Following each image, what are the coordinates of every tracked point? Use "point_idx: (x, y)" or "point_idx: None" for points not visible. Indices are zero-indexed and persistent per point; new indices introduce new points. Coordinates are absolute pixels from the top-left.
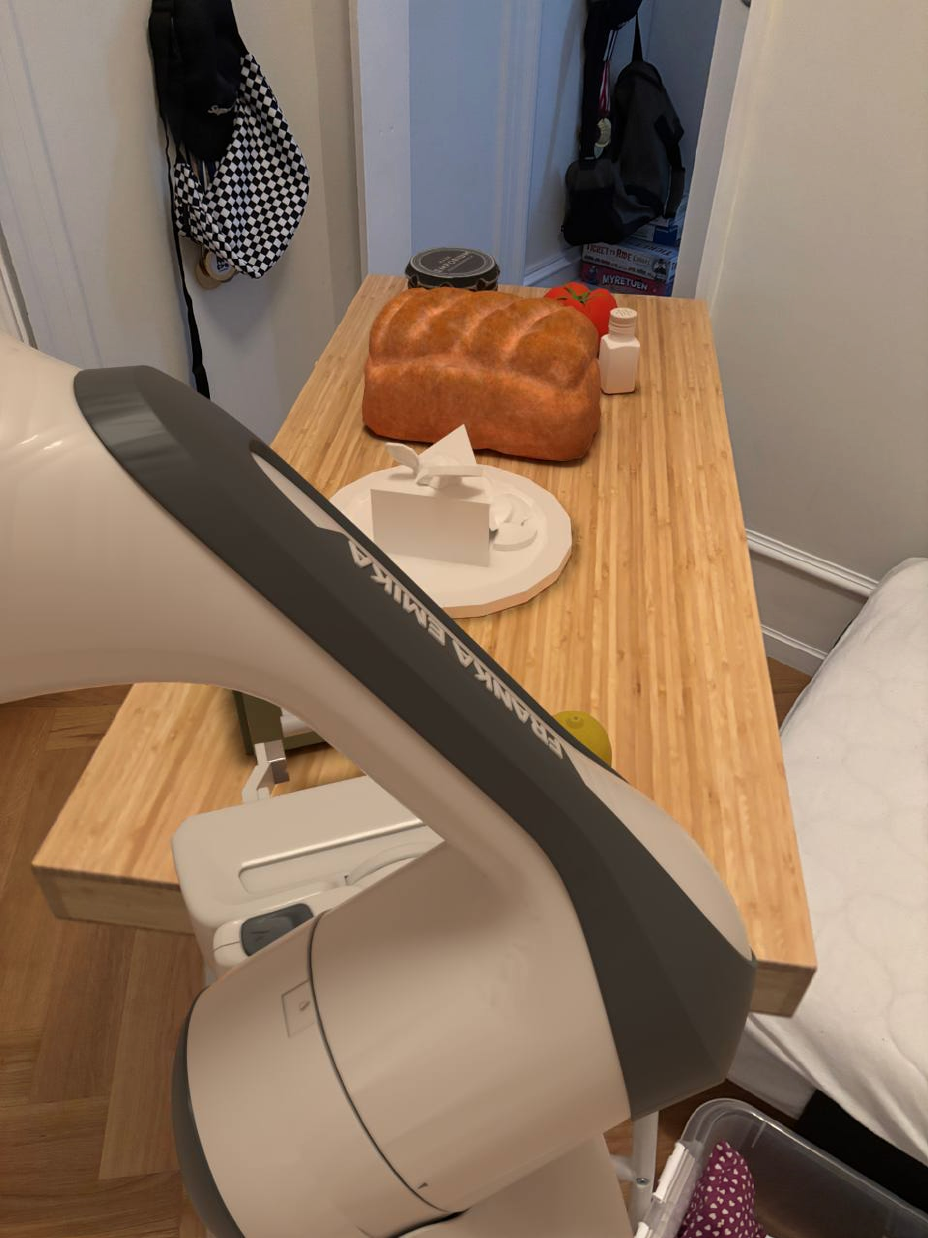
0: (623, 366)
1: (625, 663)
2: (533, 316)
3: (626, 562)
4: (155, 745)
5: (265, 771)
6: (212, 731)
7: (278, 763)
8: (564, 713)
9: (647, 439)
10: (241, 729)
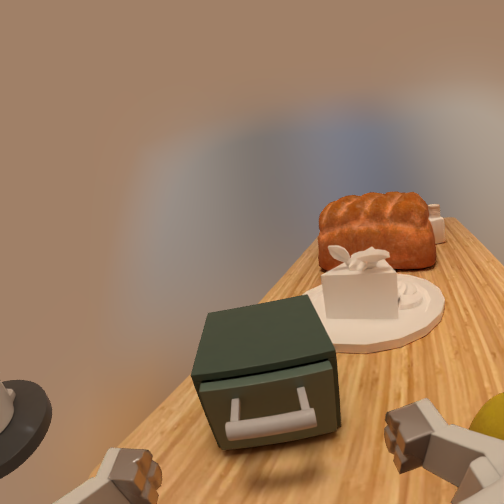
0: (438, 229)
1: (498, 359)
2: (396, 197)
3: (475, 305)
4: (163, 431)
5: (96, 490)
6: (201, 427)
7: (124, 484)
8: (501, 395)
9: (459, 255)
10: (211, 429)
